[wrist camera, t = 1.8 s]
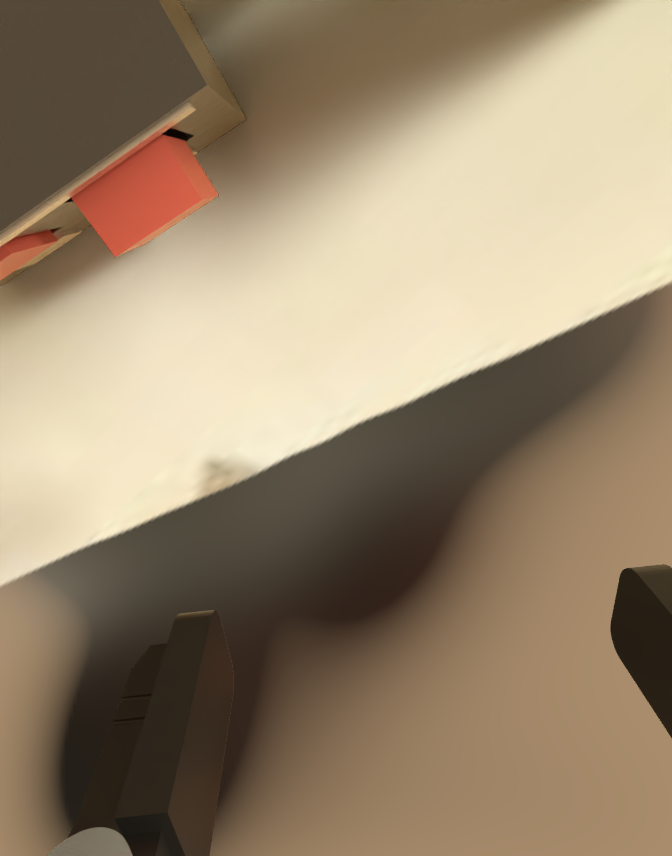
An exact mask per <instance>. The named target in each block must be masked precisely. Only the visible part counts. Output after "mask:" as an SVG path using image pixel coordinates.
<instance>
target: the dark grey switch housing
mask: <svg viewBox="0 0 672 856" xmlns="http://www.w3.org/2000/svg"><path fill="white" fill-rule="evenodd" d="M244 120H246V117H245V115H244V113H243V112H242V110H241V108H240V106H239V105H238V103H237V101H236V99H235V97H234V96H233V94H232V92H231V90H230V88H229V87H228V85H227V83H226V81H225V79H224V78H223V76H222V74H221V72H220V70H219V69H218V67H217V65H216V63H215V61H214V60H213V58H212V56H211V54H210V52H209V51H208V49H207V47H206V45H205V44H204V42H203V40H202V38H201V36H200V35H199V33H198V31H197V29H196V27H195V26H194V24H193V22H192V20H191V18H190V17H189V15H188V13H187V12H186V10H185V9H184V8H183V6H182V5H181V4H180V2H179V1H178V0H0V247H1V246H3V245H4V244H6V243H7V242H8V241H10V240H11V239H13V238H15V237H19V236H24V235H28V234H33V233H37V232H41V231H46V230H50V231H51V232H52V233H53V235H54V236H55V237H56V239H57V240H58V241H57V242H56V243H54V244H53V245H51V246H50V247H49V248H47V249H46V250H44V251H43V252H41V253H40V254H38V255H37V256H35V257H34V258H32V259H31V260H30V261H28V262H27V263H25V264H24V265H22V266H21V267H19V268H18V269H16V270H15V271H14V272H12V273H11V274H9V275H8V276H6V277H5V278H3V279H2V280H0V286H1V285H3V284H6V283H7V282H9V281H10V280H11V279H13V278H14V277H16V276H17V275H19V274H20V273H22V272H23V271H25V270H26V269H28V268H29V267H31V266H32V265H33V264H36V263H37V262H39V261H40V260H41V259H43V258H44V257H46V256H47V255H49V254H50V253H52V252H53V251H55V250H56V249H58V248H59V247H61V246H62V245H63V244H65V243H66V242H68V241H69V240H71V239H72V238H74V237H75V236H77V235H78V234H80V233H81V232H83V230H85V229H86V228H88V227H89V226H91V224H90V222H89V221H88V220H87V218H86V217H85V216H84V214H83V213H82V212H81V210H80V209H79V208H78V206H77V205H76V204H75V202H74V201H73V200H72V198H71V197H73V196H74V195H75V194H77V193H78V192H80V191H81V190H83V189H84V188H85V187H87V186H88V185H90V184H91V183H93V182H94V181H95V180H97V179H98V178H100V177H101V176H103V175H104V174H105V173H107V172H108V171H110V170H111V169H113V168H114V167H115V166H117V165H118V164H120V163H121V162H122V161H124V160H125V159H127V158H128V157H130V156H131V155H132V154H134V153H135V152H137V151H138V150H140V149H141V148H142V147H144V146H145V145H147V144H148V143H150V142H151V141H152V140H154V139H155V138H157V137H158V136H160V135H161V134H162V135H166V136H170V137H174V138H177V139H181V140H185V141H186V143H187V145H188V146H189V148H190V150H191V151H192V153H193V154H194V155H195V154H197V153H198V152H199V151H200V150H202V149H203V148H205V147H206V146H208V145H209V144H211V143H212V142H214V141H215V140H217V139H218V138H219V137H221V136H222V135H224V134H225V133H227V132H228V131H230V130H231V129H233V128H234V127H236V126H237V125H239V124H240V123H241V122H243V121H244Z"/></svg>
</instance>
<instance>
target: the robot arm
mask: <svg viewBox="0 0 672 856" xmlns="http://www.w3.org/2000/svg"><path fill="white" fill-rule="evenodd" d="M611 637H612V640H613V644H614V647H615V650H616V652H617V654H618V656H619V658H620V659H621V661H622V662H623V664H624V665H625V667H626V669H627V670H628V672H629V673H630V675H631V676H632V678H633V679H634V681H635V682H636V684H637V685H638V687H639V688H640V690H641V691H642V693H643V695H644V696H645V698H646V699H647V701H648V702H649V704H650V705H651V707H652V708H653V710H654V712H655V713H656V715H657V716H658V718H659V719H660V721H661V722H662V724H663V725H664V727H665V728H666V730H667V732H668V733H669V735H670V736H671V738H672V568H671V567H670V566H668V565H655V566H645V567H636V568H626V569H624V570H623V571H622V572H621V574H620V578H619V583H618V589H617V594H616V599H615V604H614V609H613V614H612V619H611ZM233 681H234V679H233V667H232V661H231V657H230V653H229V649H228V645H227V642H226V638H225V634H224V630H223V626H222V622H221V619H220V615H219V613H218V611H217V610H211V611H201V612H191V613H182V614H178V615H177V616H176V618H175V620H174V623H173V627H172V630H171V633H170V637H169V640H168V643H167V644H159V645H151V646H150V647H149V648H148V649H147V650H146V652H145V653H144V654H143V656H142V657H141V658H140V659H139V661H138V662H137V663H136V664H135V666H134V667H133V668H132V669H131V672H130V674H129V677H128V680H127V683H126V685H125V689H124V691H123V694H122V697H121V698H122V700H121V703H119V705H118V708H117V710H116V713H115V716H114V719H113V726H111V727H110V730H109V732H108V735H107V738H106V741H105V743H104V746H103V749H102V752H101V754H100V757H99V760H98V763H97V765H96V768H95V771H94V774H93V776H92V780H91V782H90V785H89V787H88V790H87V793H86V796H85V799H84V801H83V804H82V807H81V810H80V813H79V815H78V818H77V820H76V822H75V825H74V827H73V829H72V831H71V833H70V834H69V836H68V838H67V839H66V840H65V841H63V842H62V843H61V844H59V845H58V846H57V847H56V848H55V849H53V850H52V852H50V854H49V855H48V856H209V855H210V847H211V841H212V834H213V828H214V821H215V814H216V807H217V800H218V794H219V786H220V779H221V773H222V766H223V760H224V753H225V746H226V739H227V732H228V726H229V719H230V712H231V705H232V698H233V685H234V682H233Z"/></svg>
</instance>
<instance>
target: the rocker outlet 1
mask: <svg viewBox="0 0 672 856" xmlns="http://www.w3.org/2000/svg"><path fill="white" fill-rule="evenodd" d="M57 241H58V240H57V239H56V237H55V236H54V235H53V233H52V232H51V231H50V230H46V231H41V232H37V233H33V234H28V235H24V236H19V237H15V238H13V239H11V240H10V241H8V242H7V243H6V244H4V245H3V246H1V247H0V280H2V279H3V278H5V277H6V276H8V275H9V274H11V273H12V272H14V271H15V270H16V269H18V268H19V267H21V266H22V265H24V264H25V263H27V262H28V261H30V260H31V259H32V258H34V257H35V256H37V255H38V254H40V253H41V252H43V251H44V250H46V249H47V248H49V247H50V246H51V245H53V244H54V243H56V242H57Z"/></svg>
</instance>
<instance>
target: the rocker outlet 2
mask: <svg viewBox="0 0 672 856" xmlns="http://www.w3.org/2000/svg"><path fill="white" fill-rule="evenodd" d="M217 196H219V195H218V193H217V192H216V190H215V188H214V187H213V185H212V184H211V182H210V180H209V179H208V177H207V175H206V174H205V172H204V171H203V169H202V167H201V166H200V164H199V162H198V161H197V159H196V158H195V156H194V154H193V153H192V151H191V150H190V148H189V146H188V145H187V143H186V141H185V140H181V139H177V138H174V137H170V136H166V135H162V134H161V135H160V136H158V137H157V138H155V139H154V140H152V141H151V142H150V143H148V144H147V145H145V146H144V147H142V148H141V149H140V150H138V151H137V152H135V153H134V154H132V155H131V156H130V157H128V158H127V159H125V160H124V161H122V162H121V163H120V164H118V165H117V166H115V167H114V168H113V169H111V170H110V171H108V172H107V173H105V174H104V175H103V176H101V177H100V178H98V179H97V180H95V181H94V182H93V183H91V184H90V185H88V186H87V187H85V188H84V189H83V190H81V191H80V192H78V193H77V194H75V195H74V196H73V197H71V198H72V200H73V201H74V202H75V204H76V205H77V206H78V208H79V209H80V210H81V212H82V213H83V214H84V216H85V217H86V218H87V220H88V221H89V222H90V224H91V225H92V227H93V228H94V229H95V231H96V232H97V233H98V235H99V236H100V237H101V239H102V240H103V241H104V243H105V244H106V245H107V247H108V248H109V249H110V251H111V252H112V254H113V255H114V256H115V257H117V256H119V255H121V254H124V253H126V252H128V251H130V250H133V249H135V248H137V247H139V246H142V245H144V244H146V243H147V242H149V241H150V240H152V239H153V238H155V237H157V236H158V235H160V234H161V233H163V232H164V231H166V230H167V229H169V228H170V227H172V226H173V225H175V224H176V223H178V222H179V221H181V220H182V219H184V218H185V217H187V216H188V215H190V214H191V213H193V212H195V211H196V210H198V209H199V208H201V207H202V206H204V205H205V204H207V203H208V202H210V201H211V200H213V199H214V198H216V197H217Z"/></svg>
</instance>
